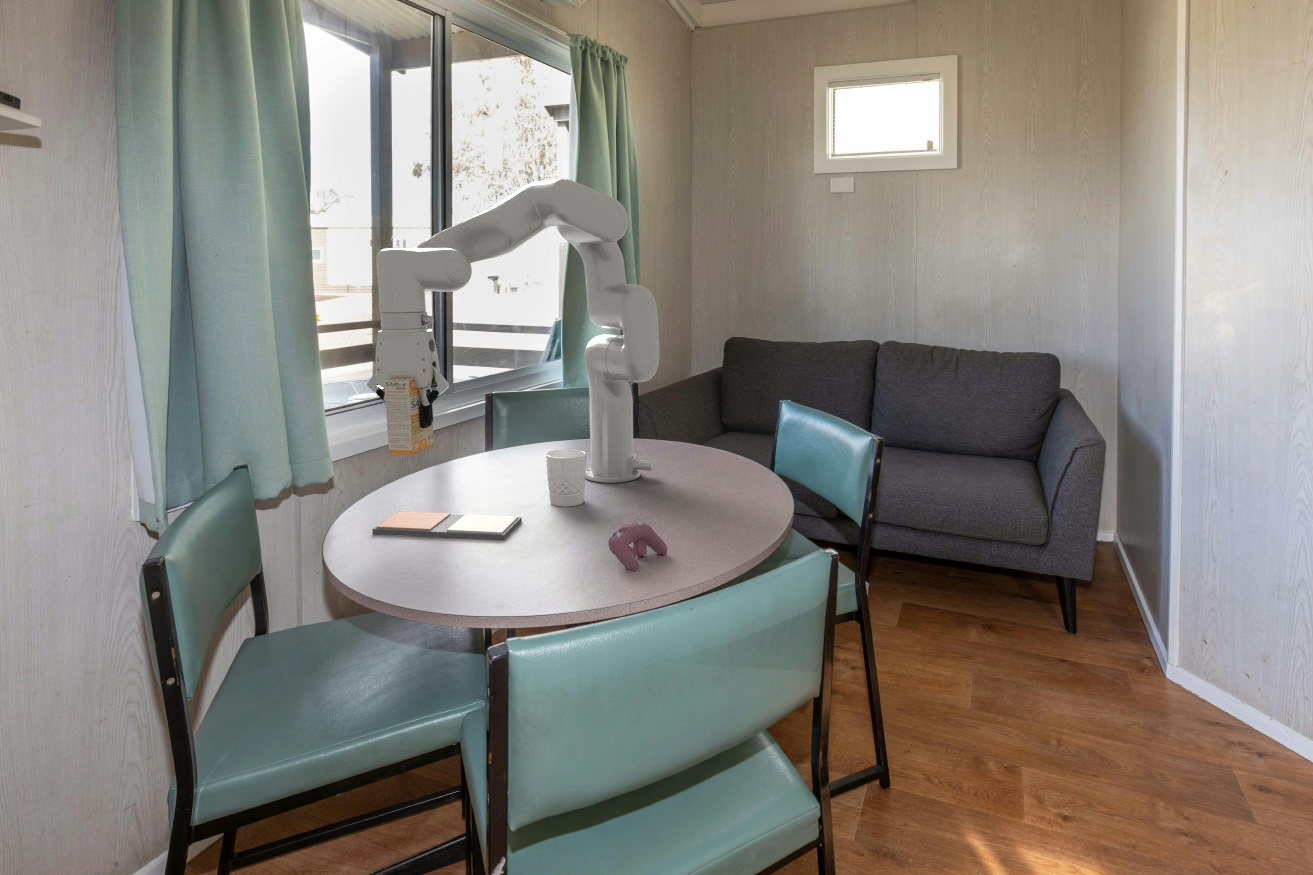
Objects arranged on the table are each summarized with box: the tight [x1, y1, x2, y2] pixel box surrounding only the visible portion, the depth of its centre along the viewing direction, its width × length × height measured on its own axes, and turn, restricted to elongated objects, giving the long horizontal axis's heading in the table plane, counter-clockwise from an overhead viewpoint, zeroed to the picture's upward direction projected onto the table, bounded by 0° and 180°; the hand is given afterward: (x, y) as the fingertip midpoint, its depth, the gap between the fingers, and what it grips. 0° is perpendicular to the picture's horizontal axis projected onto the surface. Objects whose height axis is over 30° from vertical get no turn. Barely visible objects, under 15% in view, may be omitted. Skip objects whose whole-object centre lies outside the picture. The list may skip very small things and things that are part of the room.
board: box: [371, 510, 523, 542], centre depth 144 cm, size 24×10×1 cm, turn 82°
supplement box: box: [384, 379, 435, 456], centre depth 140 cm, size 8×5×13 cm, turn 168°
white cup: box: [545, 448, 587, 508], centre depth 159 cm, size 8×8×10 cm
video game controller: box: [607, 521, 668, 572], centre depth 128 cm, size 10×5×7 cm, turn 146°
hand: (410, 425), depth 141 cm, fingers closed on supplement box, 5 cm apart
